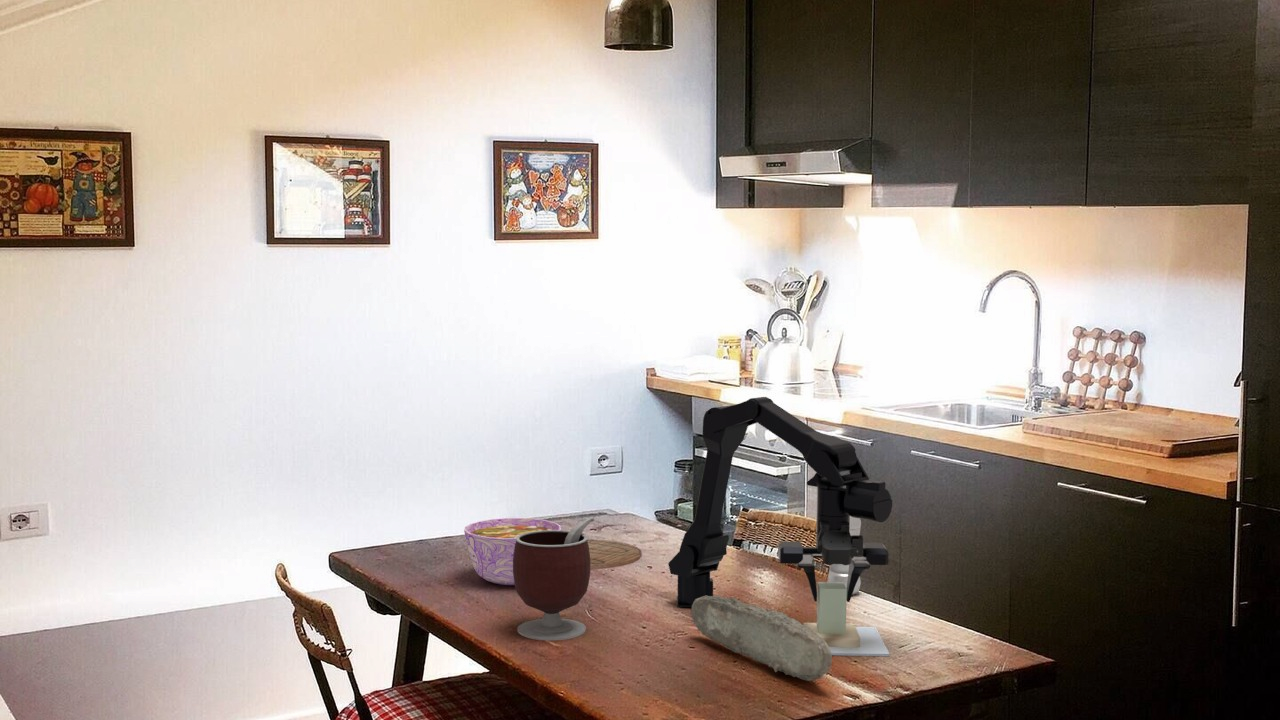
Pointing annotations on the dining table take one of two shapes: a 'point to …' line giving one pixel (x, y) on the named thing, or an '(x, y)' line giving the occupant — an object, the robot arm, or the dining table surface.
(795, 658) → the long grey stone
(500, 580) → the bowl of food
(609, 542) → the trivet
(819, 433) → the robot arm
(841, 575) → the plastic bottle
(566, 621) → the mate gourd
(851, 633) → the foundation slab
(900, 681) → the dining table surface
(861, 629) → the board
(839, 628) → the block
